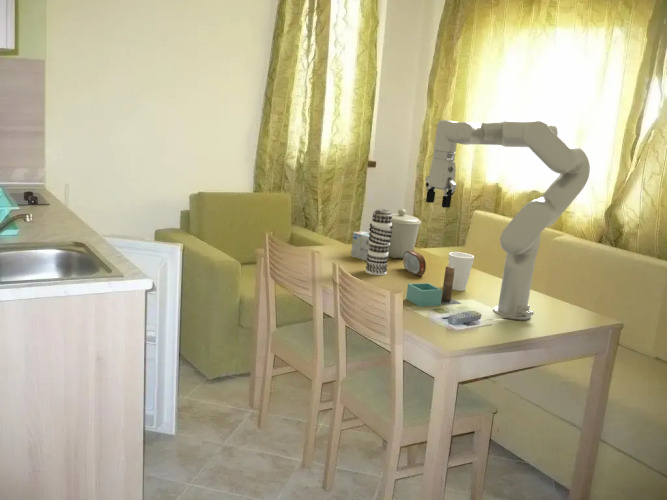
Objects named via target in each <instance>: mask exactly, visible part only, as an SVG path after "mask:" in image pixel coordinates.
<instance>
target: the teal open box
mask: <svg viewBox="0 0 667 500" xmlns="http://www.w3.org/2000/svg"><path fill="white" fill-rule="evenodd" d="M442 291H443V289H442V288H439V287H437V286H435V285H433V284H431V283H429V282H422V283H421V282H419V283H407V288H406V296H405V299H406V300H407V301H409V302H411V303H412V304H414V305H416V306H417V307H434V306H435V307H436V306H441V304H440V303H441V297H442Z"/></svg>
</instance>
